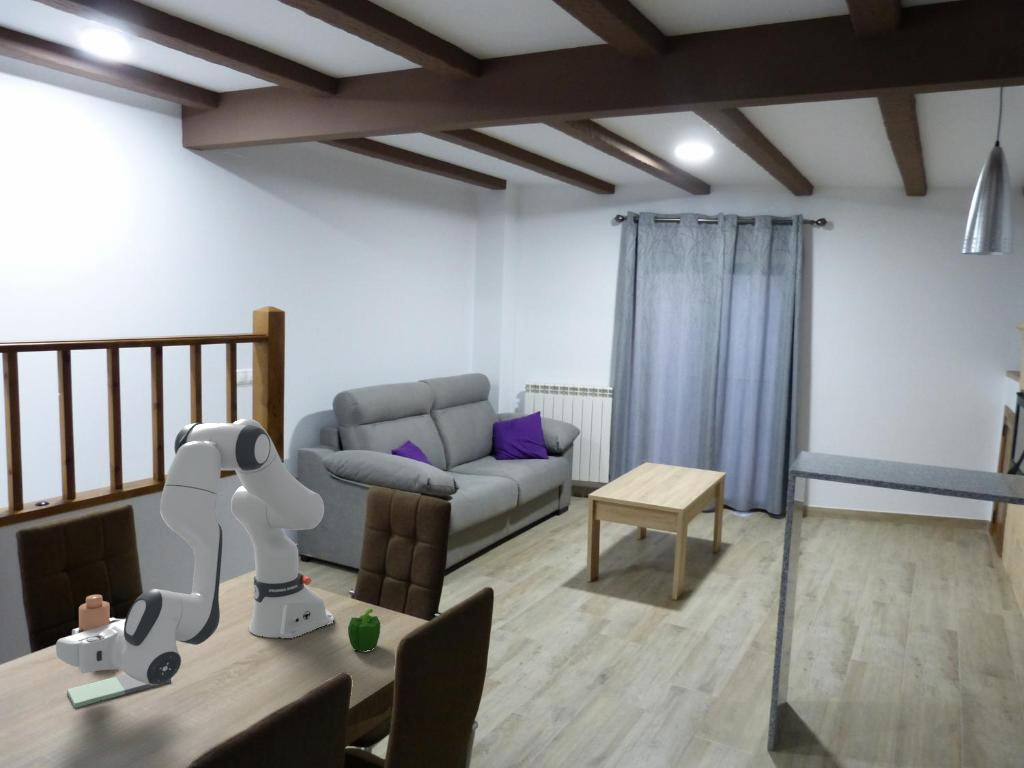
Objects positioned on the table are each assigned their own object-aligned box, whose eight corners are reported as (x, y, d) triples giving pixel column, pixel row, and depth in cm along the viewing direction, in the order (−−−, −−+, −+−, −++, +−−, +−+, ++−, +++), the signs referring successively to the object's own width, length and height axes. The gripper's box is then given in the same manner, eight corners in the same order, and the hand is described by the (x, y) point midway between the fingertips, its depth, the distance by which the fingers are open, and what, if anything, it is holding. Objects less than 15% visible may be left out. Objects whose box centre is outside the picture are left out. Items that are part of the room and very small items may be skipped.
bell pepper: (359, 659, 200) (360, 621, 199) (342, 647, 206) (343, 610, 205) (387, 650, 206) (388, 612, 205) (370, 639, 212) (371, 602, 211)
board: (161, 669, 191) (161, 665, 190) (171, 681, 185) (171, 677, 185) (67, 693, 178) (67, 689, 178) (74, 707, 172) (74, 703, 172)
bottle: (109, 654, 181) (109, 590, 179) (110, 665, 176) (109, 600, 174) (79, 659, 178) (78, 594, 177) (79, 670, 173) (78, 604, 171)
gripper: (170, 616, 177) (138, 599, 185) (75, 646, 160) (43, 626, 168) (170, 643, 177) (138, 626, 185) (75, 676, 161) (44, 655, 169)
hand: (92, 626), depth 177 cm, fingers closed on bottle, 6 cm apart
